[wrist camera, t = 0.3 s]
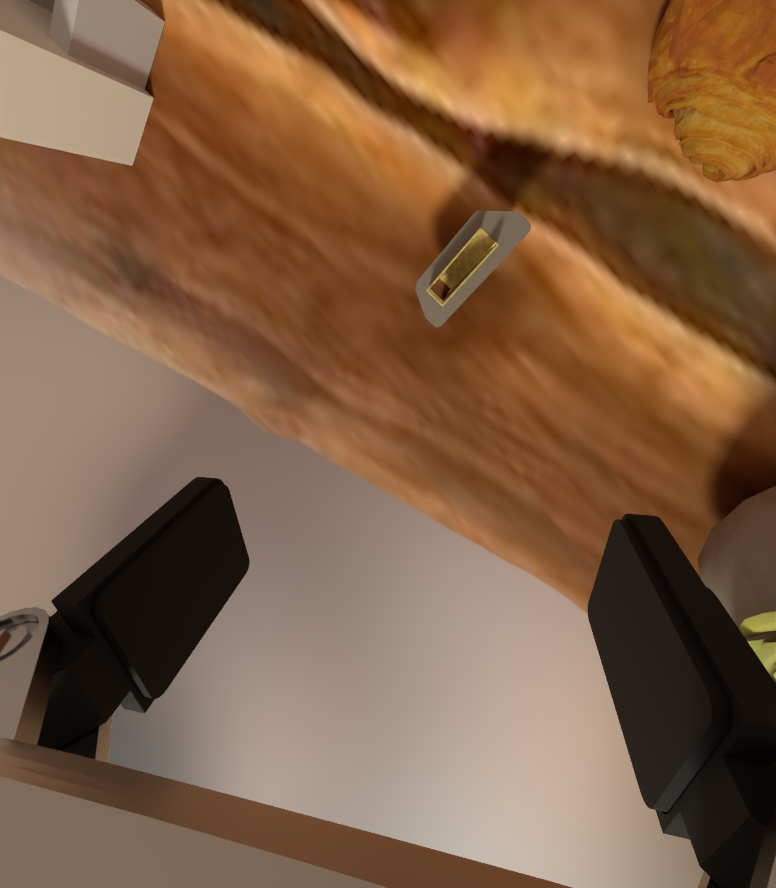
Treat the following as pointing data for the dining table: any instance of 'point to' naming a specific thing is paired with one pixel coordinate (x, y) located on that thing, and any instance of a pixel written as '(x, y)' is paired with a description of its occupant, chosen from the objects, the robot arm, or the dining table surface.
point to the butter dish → (469, 260)
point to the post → (77, 74)
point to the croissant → (718, 83)
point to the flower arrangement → (746, 571)
